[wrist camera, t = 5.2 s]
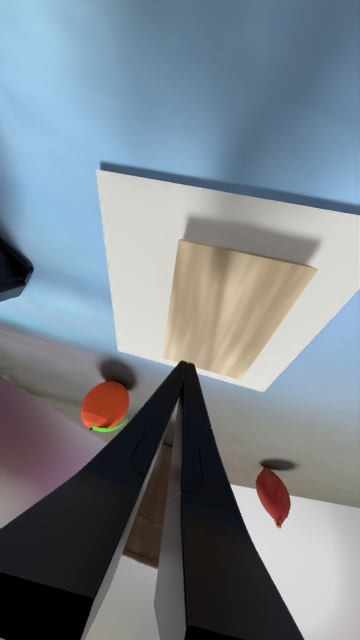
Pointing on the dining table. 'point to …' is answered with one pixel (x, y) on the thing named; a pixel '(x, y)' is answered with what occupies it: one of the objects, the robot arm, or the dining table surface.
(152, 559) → the plant pot
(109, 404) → the clementine
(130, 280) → the mat
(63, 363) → the dining table surface
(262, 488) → the onion
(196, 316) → the tile
